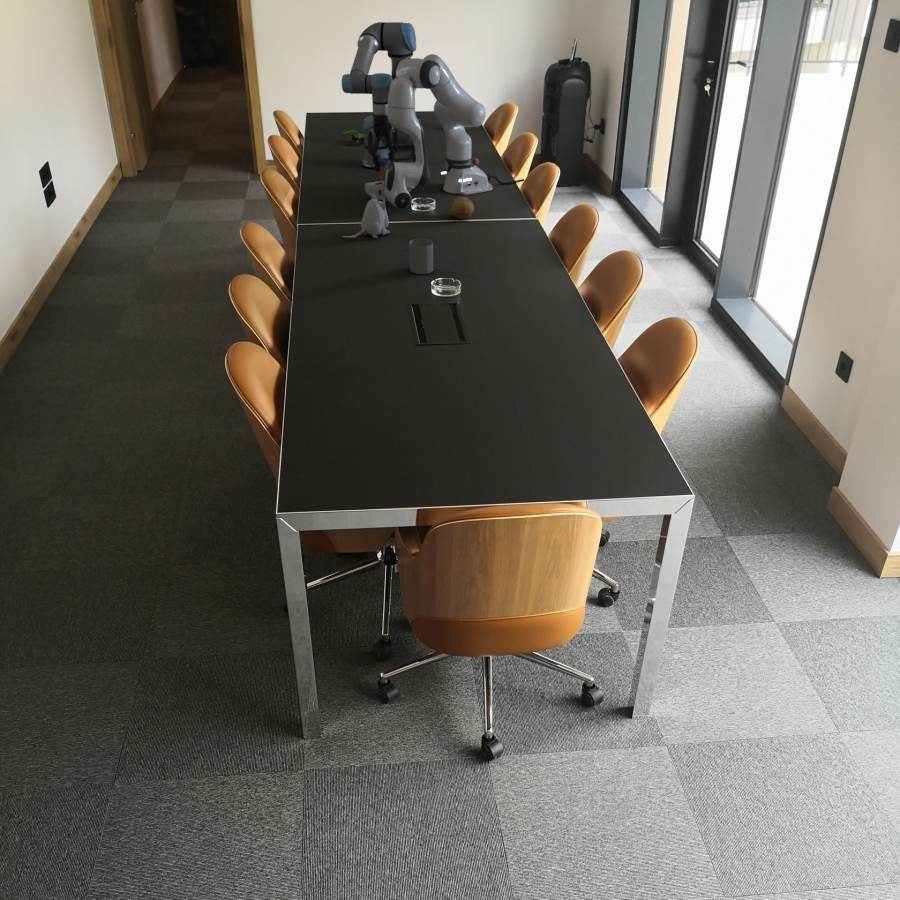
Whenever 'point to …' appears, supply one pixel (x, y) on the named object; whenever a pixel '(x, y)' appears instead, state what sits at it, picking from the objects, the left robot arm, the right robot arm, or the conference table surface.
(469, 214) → the potato
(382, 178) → the jar
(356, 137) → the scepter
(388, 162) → the lid
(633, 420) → the conference table surface
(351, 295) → the conference table surface
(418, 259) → the cup
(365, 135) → the left robot arm
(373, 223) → the toy
